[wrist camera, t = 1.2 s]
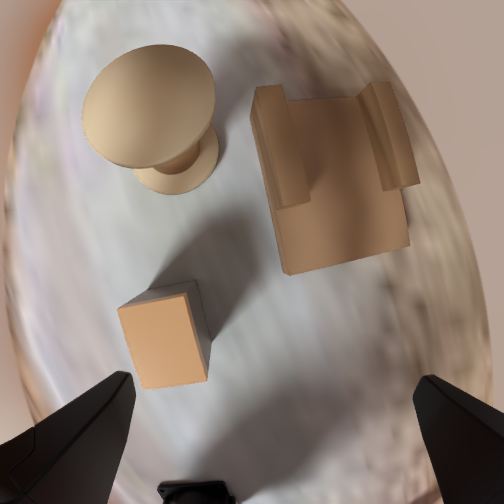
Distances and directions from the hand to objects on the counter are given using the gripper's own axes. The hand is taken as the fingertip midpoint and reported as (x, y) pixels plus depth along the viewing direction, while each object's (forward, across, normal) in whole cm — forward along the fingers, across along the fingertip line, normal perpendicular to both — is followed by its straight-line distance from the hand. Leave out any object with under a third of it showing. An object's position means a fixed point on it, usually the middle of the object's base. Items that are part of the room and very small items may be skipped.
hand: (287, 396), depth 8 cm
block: (+11, +5, +4) cm, 13 cm away
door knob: (+14, +6, -6) cm, 17 cm away
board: (+14, -4, -5) cm, 16 cm away
